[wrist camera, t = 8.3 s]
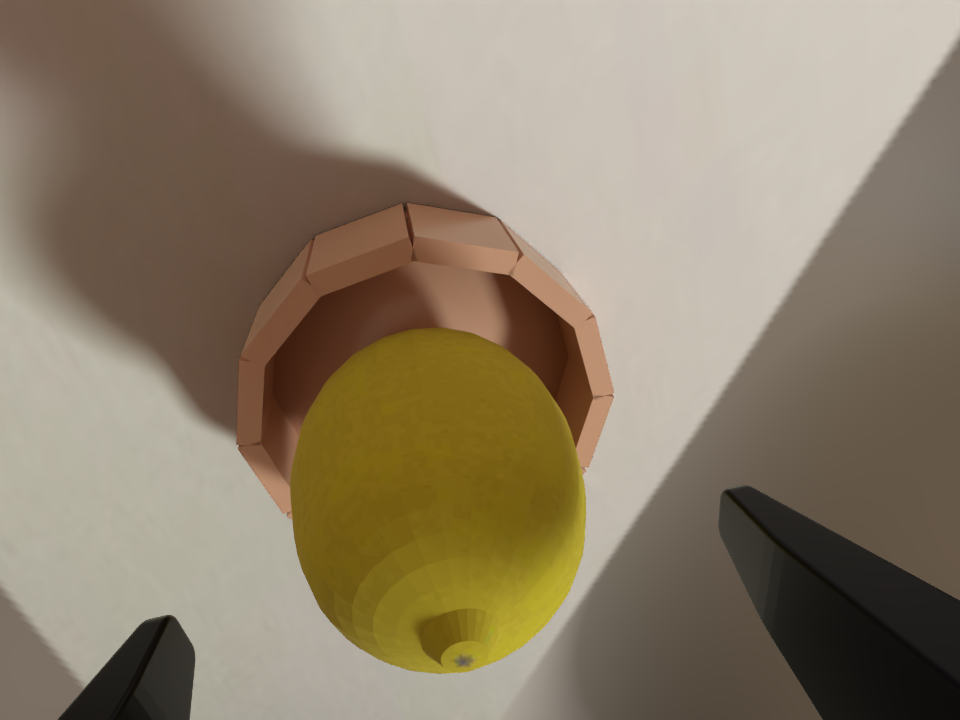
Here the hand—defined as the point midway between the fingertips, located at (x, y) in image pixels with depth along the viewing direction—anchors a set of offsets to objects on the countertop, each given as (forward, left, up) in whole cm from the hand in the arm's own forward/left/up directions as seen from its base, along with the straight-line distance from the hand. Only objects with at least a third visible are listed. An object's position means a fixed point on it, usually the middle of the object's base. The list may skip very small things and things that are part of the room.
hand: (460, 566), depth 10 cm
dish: (0, 0, -7) cm, 7 cm away
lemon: (0, 0, -7) cm, 7 cm away
